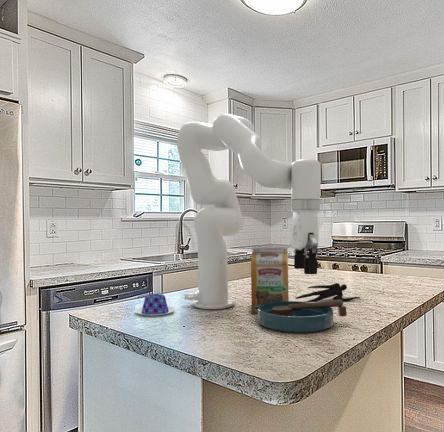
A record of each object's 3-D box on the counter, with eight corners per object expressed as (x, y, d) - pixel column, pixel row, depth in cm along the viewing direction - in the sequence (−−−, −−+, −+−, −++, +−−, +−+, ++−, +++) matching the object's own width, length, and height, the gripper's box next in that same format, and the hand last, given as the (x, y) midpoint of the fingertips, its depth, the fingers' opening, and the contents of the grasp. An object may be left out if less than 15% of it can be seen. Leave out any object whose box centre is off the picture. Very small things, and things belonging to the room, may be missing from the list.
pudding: (152, 319, 115) (152, 300, 115) (126, 313, 124) (126, 295, 124) (183, 312, 124) (183, 294, 124) (157, 306, 132) (157, 290, 132)
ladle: (275, 324, 106) (274, 308, 106) (271, 320, 111) (269, 304, 111) (349, 317, 107) (348, 301, 107) (342, 313, 112) (340, 297, 112)
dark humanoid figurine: (310, 286, 125) (360, 274, 139) (290, 291, 132) (340, 278, 146) (318, 313, 123) (367, 297, 138) (297, 316, 130) (347, 301, 145)
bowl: (265, 334, 99) (265, 318, 99) (253, 315, 118) (252, 301, 118) (344, 332, 99) (344, 316, 99) (319, 314, 119) (318, 300, 119)
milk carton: (288, 306, 130) (287, 246, 130) (288, 314, 119) (287, 248, 119) (255, 305, 132) (254, 246, 132) (251, 313, 121) (250, 248, 122)
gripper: (284, 206, 118) (283, 266, 118) (300, 206, 100) (299, 276, 101) (310, 207, 118) (309, 266, 118) (330, 206, 101) (330, 276, 101)
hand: (305, 271), depth 109 cm, fingers open, 9 cm apart
